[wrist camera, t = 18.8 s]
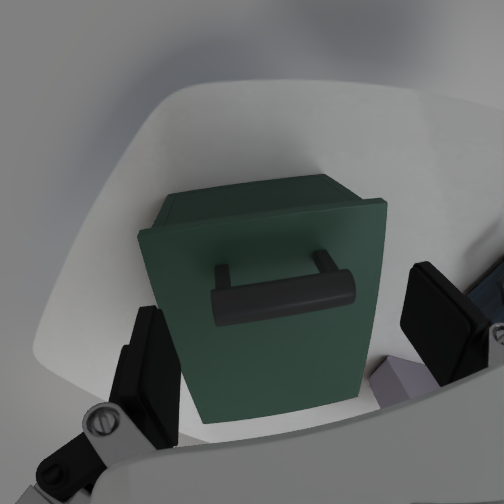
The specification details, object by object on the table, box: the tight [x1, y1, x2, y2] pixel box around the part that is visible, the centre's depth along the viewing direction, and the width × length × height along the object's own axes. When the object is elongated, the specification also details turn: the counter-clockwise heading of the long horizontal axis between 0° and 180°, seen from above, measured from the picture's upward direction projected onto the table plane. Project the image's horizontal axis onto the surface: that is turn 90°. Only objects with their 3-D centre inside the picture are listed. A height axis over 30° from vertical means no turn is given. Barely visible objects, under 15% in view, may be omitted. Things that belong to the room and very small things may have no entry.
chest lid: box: [137, 198, 387, 424], centre depth 18 cm, size 16×13×5 cm
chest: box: [152, 174, 363, 228], centre depth 24 cm, size 16×13×9 cm
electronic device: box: [369, 356, 441, 409], centre depth 33 cm, size 10×5×10 cm, turn 62°
